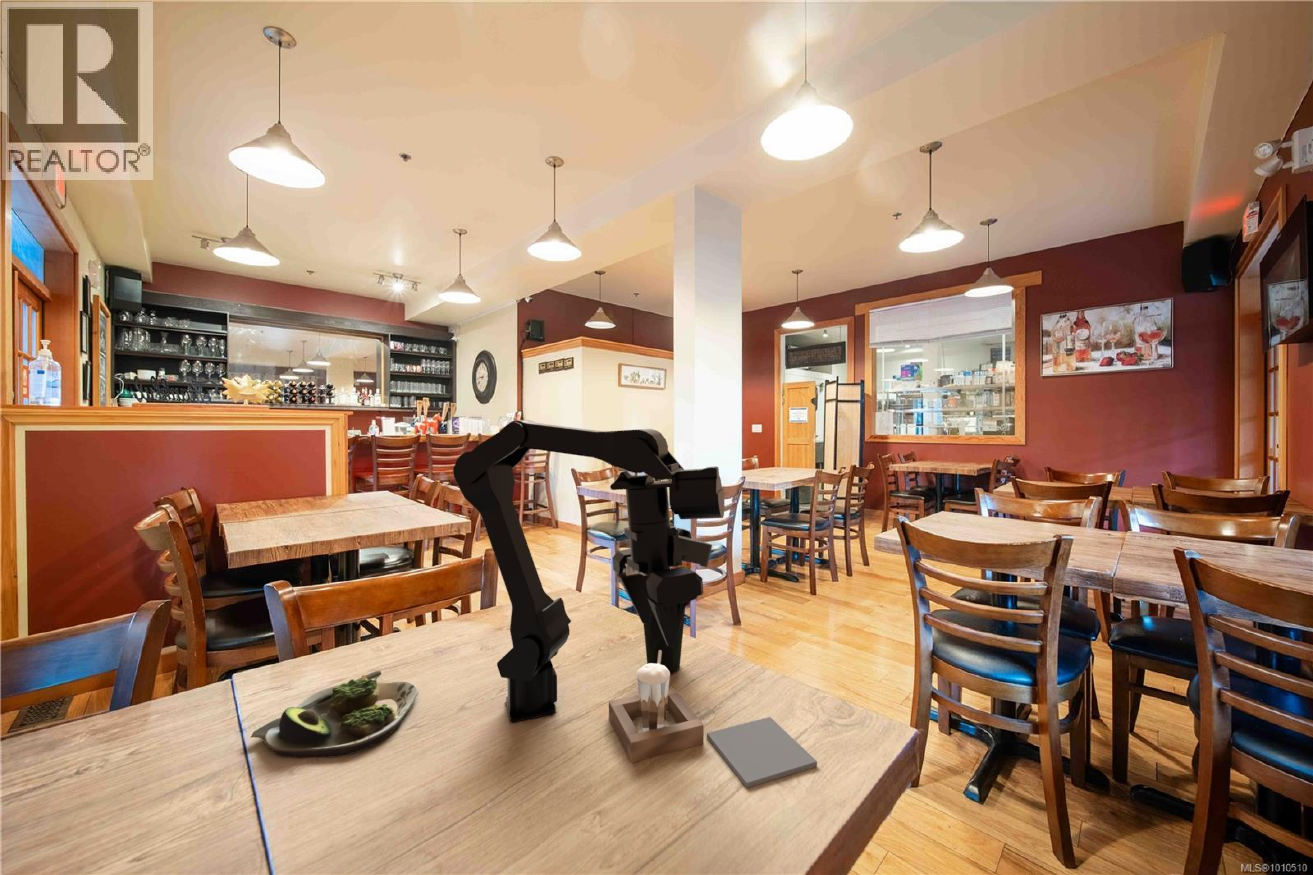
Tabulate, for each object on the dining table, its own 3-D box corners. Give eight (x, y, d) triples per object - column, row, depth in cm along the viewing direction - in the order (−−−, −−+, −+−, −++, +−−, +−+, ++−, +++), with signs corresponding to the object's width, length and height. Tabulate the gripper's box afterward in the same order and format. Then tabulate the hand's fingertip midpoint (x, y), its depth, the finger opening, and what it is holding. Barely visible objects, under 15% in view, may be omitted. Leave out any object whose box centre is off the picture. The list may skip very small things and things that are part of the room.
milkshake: (675, 722, 71) (675, 652, 70) (663, 746, 66) (663, 670, 65) (645, 716, 72) (645, 647, 72) (631, 738, 67) (631, 665, 67)
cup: (686, 678, 83) (686, 606, 82) (640, 678, 83) (640, 606, 83) (684, 656, 90) (685, 590, 90) (642, 656, 91) (642, 590, 90)
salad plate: (328, 682, 82) (327, 655, 82) (438, 680, 83) (438, 653, 83) (232, 763, 63) (231, 727, 63) (377, 760, 63) (376, 724, 63)
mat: (746, 788, 58) (746, 782, 58) (706, 737, 67) (706, 733, 67) (817, 766, 62) (817, 761, 62) (769, 720, 71) (769, 716, 71)
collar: (631, 762, 62) (631, 742, 62) (608, 718, 72) (608, 701, 72) (703, 743, 66) (703, 724, 66) (673, 703, 75) (673, 687, 75)
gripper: (735, 521, 63) (745, 644, 63) (674, 505, 81) (682, 602, 81) (653, 534, 59) (664, 666, 59) (607, 515, 76) (616, 617, 76)
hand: (658, 633), depth 69 cm, fingers open, 9 cm apart
